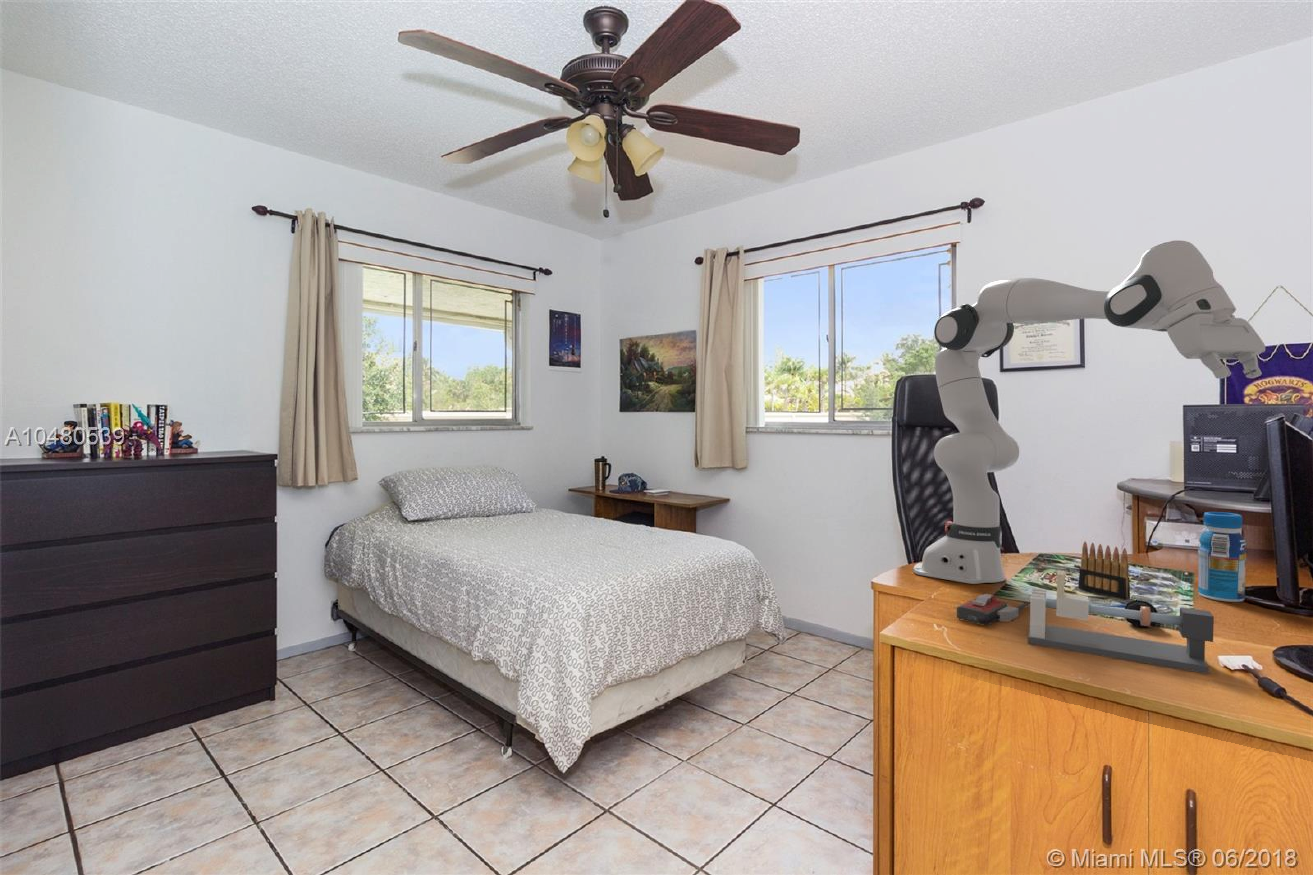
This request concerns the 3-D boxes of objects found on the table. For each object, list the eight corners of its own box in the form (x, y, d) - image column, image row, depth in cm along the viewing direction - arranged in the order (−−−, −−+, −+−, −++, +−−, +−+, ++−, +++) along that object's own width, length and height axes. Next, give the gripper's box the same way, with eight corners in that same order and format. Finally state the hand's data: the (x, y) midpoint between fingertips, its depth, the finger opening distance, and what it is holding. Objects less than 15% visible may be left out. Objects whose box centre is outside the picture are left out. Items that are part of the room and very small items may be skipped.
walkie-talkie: (995, 631, 125) (1032, 611, 138) (995, 610, 125) (1032, 591, 138) (951, 621, 132) (990, 602, 144) (952, 600, 131) (990, 583, 144)
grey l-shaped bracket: (1056, 615, 117) (1057, 574, 117) (1056, 610, 120) (1057, 570, 120) (1088, 620, 115) (1089, 578, 114) (1087, 615, 118) (1088, 573, 117)
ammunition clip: (1078, 588, 154) (1078, 541, 154) (1082, 587, 155) (1083, 540, 155) (1125, 599, 145) (1126, 549, 144) (1130, 598, 145) (1131, 548, 145)
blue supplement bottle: (1187, 592, 150) (1189, 511, 149) (1220, 592, 150) (1222, 510, 149) (1220, 603, 141) (1222, 516, 140) (1255, 602, 141) (1258, 516, 141)
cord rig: (1027, 643, 117) (1028, 596, 117) (1030, 628, 126) (1030, 584, 125) (1216, 675, 103) (1217, 622, 102) (1204, 655, 111) (1205, 606, 111)
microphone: (1139, 620, 140) (1128, 631, 125) (1130, 594, 141) (1118, 602, 127) (1168, 617, 136) (1161, 629, 122) (1159, 591, 138) (1150, 599, 123)
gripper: (1217, 324, 124) (1253, 384, 119) (1152, 321, 117) (1187, 385, 112) (1253, 305, 119) (1292, 368, 114) (1187, 302, 112) (1226, 368, 107)
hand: (1240, 376), depth 113 cm, fingers open, 8 cm apart
